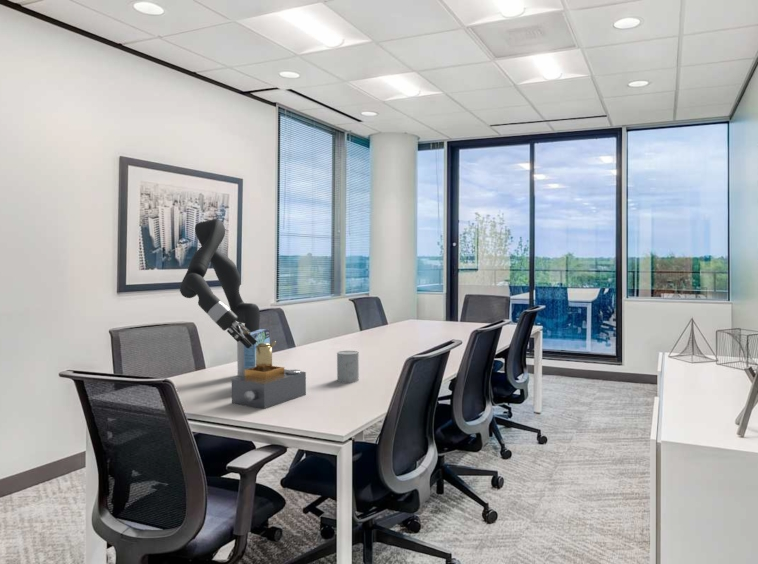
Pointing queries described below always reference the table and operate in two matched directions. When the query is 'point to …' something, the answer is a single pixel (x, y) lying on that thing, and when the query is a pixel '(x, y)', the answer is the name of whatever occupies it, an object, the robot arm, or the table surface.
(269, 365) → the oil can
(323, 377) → the table surface
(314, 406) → the table surface
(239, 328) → the robot arm
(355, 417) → the table surface
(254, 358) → the gum box
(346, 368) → the grey stone cylinder
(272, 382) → the grey box with knob
